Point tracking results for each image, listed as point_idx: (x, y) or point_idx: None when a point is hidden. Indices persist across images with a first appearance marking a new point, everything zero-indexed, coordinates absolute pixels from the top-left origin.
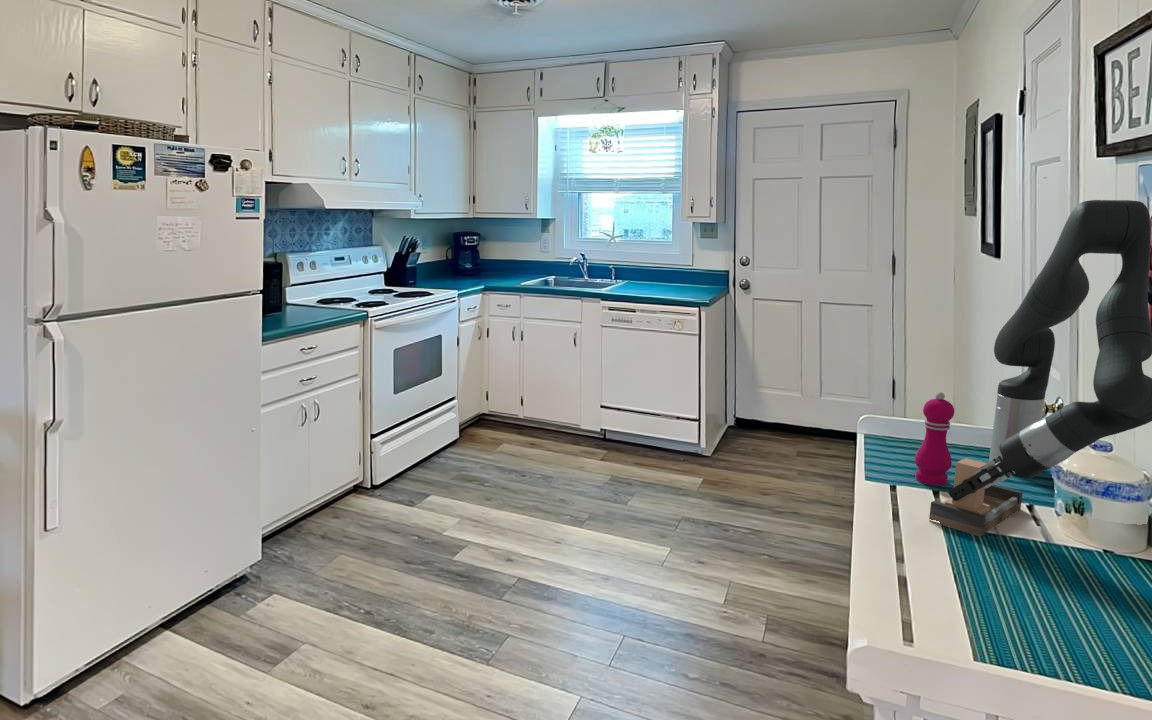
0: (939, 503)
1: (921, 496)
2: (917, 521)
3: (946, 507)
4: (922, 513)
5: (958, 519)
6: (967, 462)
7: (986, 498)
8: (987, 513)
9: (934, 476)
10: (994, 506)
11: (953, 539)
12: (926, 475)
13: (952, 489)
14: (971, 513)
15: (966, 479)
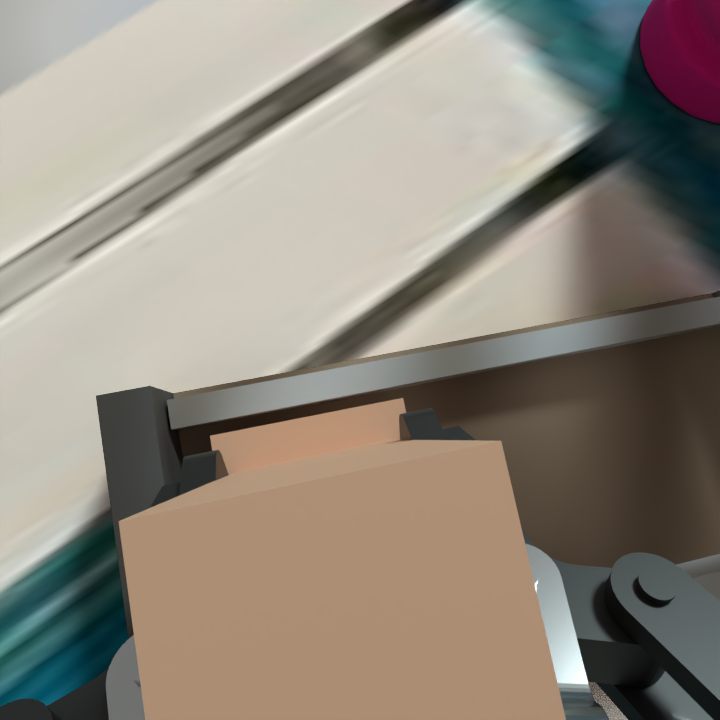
0: (130, 441)
1: (453, 162)
2: (76, 377)
3: (115, 508)
4: (219, 317)
5: None
6: (295, 627)
7: (691, 420)
8: None
9: (707, 59)
10: (614, 527)
11: (3, 652)
12: (679, 25)
13: (182, 492)
14: None
15: (136, 684)
